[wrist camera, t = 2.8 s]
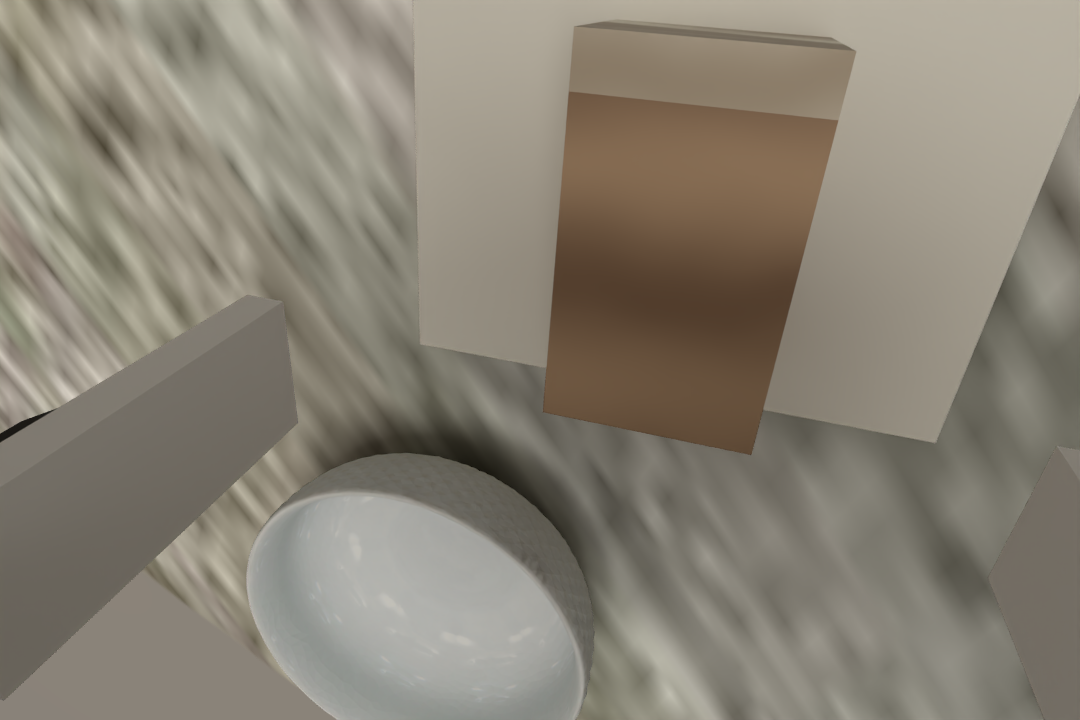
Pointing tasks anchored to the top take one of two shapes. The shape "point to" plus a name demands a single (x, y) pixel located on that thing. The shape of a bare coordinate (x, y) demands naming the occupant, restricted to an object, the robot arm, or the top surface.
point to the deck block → (685, 221)
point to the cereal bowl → (422, 596)
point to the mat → (843, 204)
